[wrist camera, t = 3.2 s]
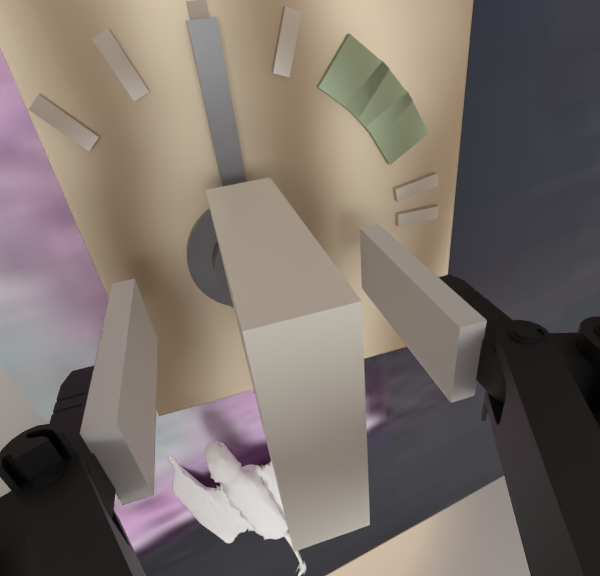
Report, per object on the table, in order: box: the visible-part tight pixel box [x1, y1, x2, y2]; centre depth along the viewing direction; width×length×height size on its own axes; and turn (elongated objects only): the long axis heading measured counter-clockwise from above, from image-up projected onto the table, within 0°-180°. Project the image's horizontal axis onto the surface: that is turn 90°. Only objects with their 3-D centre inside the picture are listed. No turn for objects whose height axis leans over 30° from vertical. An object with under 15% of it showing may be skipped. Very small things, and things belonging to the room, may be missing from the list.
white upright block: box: [186, 17, 370, 551], centre depth 12 cm, size 5×12×10 cm, turn 6°
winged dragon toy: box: [168, 442, 307, 576], centre depth 29 cm, size 18×10×4 cm, turn 19°
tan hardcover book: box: [0, 0, 473, 416], centre depth 18 cm, size 16×22×3 cm
